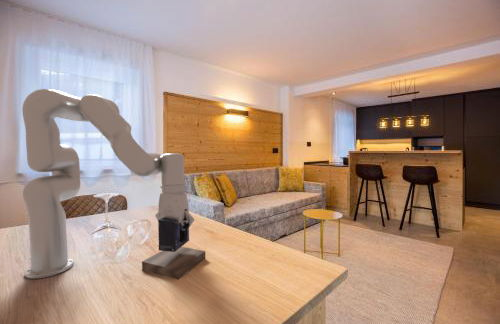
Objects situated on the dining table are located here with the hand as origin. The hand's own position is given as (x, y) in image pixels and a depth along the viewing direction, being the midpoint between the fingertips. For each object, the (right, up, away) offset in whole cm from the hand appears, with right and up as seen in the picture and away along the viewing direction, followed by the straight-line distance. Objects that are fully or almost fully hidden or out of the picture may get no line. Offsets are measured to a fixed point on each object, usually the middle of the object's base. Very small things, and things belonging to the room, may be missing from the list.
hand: (174, 239), depth 83 cm
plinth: (0, -9, 0) cm, 9 cm away
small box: (0, -2, 0) cm, 2 cm away
